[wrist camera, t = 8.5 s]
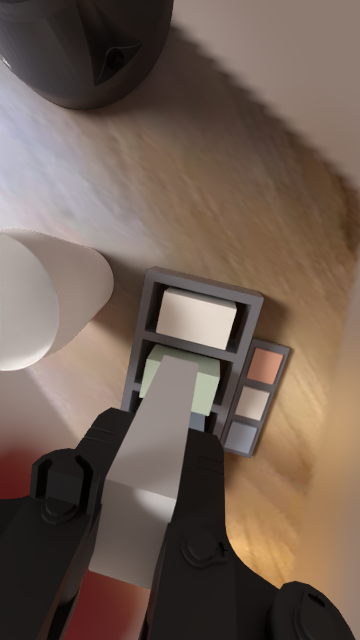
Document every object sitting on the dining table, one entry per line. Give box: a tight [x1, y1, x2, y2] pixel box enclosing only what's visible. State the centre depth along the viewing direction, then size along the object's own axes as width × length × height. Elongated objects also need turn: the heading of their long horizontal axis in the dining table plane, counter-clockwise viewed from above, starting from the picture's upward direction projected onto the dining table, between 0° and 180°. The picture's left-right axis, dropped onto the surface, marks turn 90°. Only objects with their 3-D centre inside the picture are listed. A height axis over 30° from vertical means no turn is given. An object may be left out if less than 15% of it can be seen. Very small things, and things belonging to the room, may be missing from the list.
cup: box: [0, 228, 114, 371], centre depth 23 cm, size 9×9×12 cm
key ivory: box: [156, 286, 237, 350], centre depth 25 cm, size 4×6×4 cm, turn 77°
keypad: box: [120, 266, 264, 441], centre depth 28 cm, size 22×10×4 cm, turn 167°
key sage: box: [139, 344, 220, 416], centre depth 25 cm, size 4×6×4 cm, turn 77°
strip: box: [220, 337, 290, 458], centre depth 29 cm, size 13×4×1 cm, turn 167°
